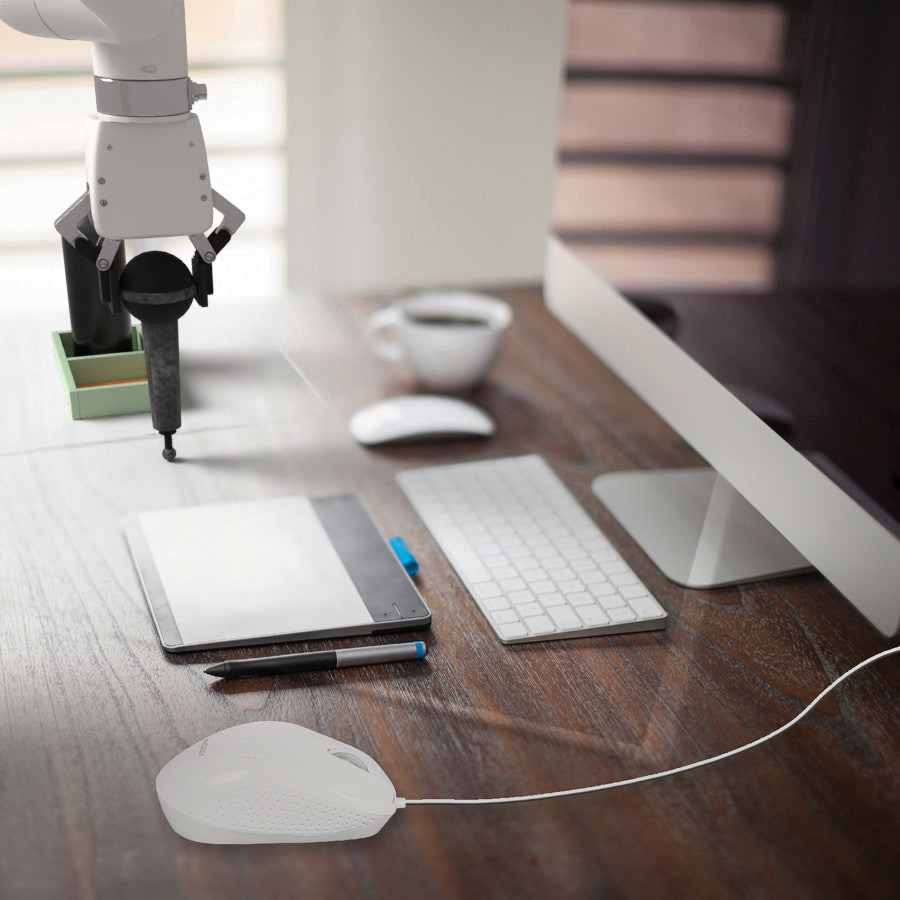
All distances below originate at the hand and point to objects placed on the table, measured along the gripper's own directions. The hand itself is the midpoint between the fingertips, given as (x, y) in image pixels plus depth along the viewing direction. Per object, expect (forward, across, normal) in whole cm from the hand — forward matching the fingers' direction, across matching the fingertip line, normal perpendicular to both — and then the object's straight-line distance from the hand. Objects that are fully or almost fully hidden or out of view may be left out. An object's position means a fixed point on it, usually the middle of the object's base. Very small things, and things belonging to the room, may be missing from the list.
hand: (158, 305), depth 101 cm
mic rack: (+15, +2, -21) cm, 26 cm away
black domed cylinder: (+15, +2, -26) cm, 30 cm away
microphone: (+15, 0, 0) cm, 15 cm away
